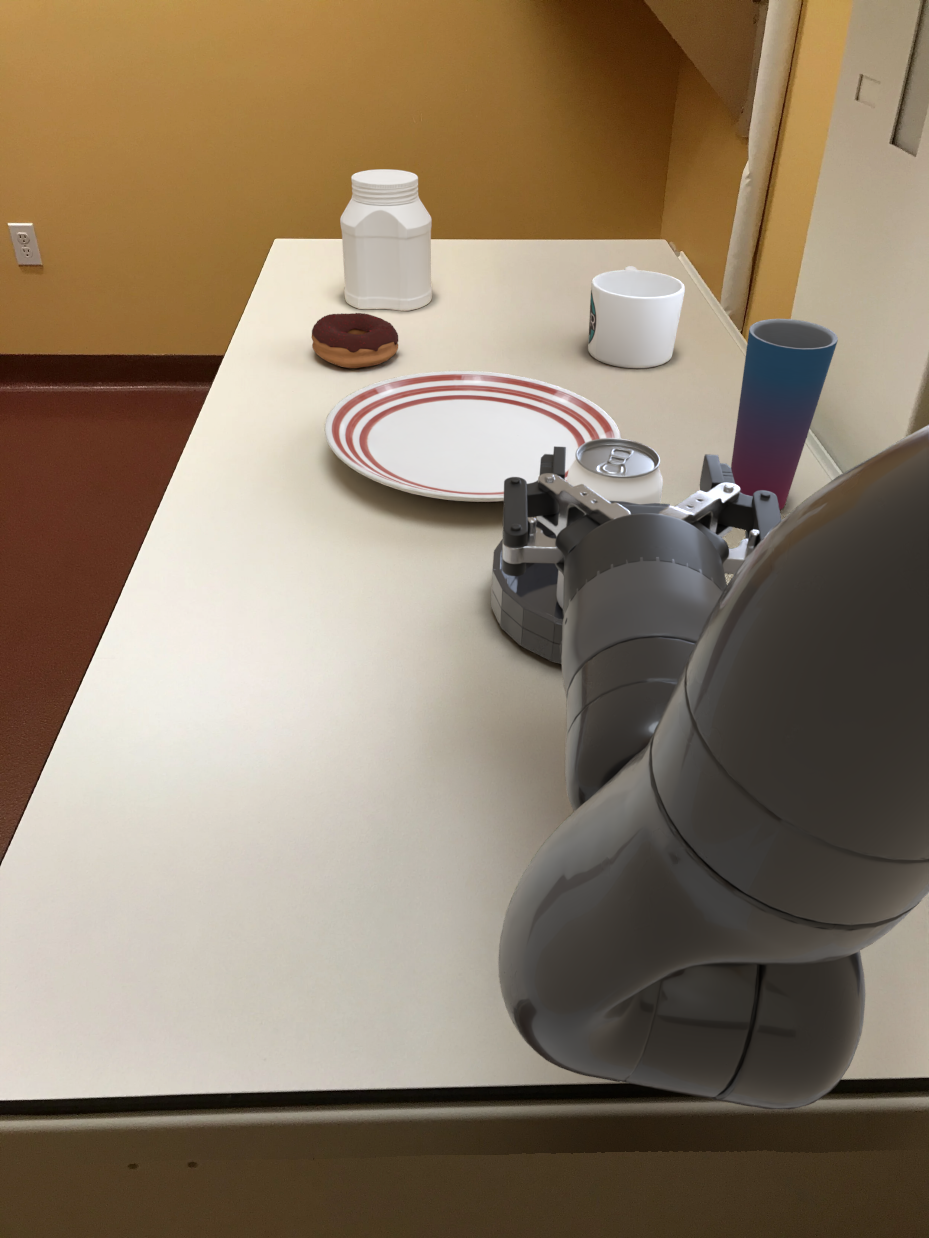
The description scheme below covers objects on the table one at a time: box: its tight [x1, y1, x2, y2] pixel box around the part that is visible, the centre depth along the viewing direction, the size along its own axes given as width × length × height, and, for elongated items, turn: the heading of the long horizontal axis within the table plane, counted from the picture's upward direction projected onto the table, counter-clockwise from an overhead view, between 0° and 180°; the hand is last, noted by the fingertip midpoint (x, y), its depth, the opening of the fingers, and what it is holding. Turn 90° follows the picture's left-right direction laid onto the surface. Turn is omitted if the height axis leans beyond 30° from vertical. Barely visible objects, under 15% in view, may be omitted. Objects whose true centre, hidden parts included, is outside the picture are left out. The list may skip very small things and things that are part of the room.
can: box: [557, 438, 664, 609], centre depth 67 cm, size 6×6×12 cm
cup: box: [730, 318, 839, 511], centre depth 80 cm, size 7×7×15 cm
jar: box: [339, 168, 433, 312], centre depth 123 cm, size 12×10×15 cm
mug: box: [587, 265, 686, 369], centre depth 111 cm, size 13×10×8 cm
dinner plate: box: [324, 370, 622, 503], centre depth 90 cm, size 28×27×3 cm
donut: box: [311, 312, 399, 369], centre depth 109 cm, size 10×10×4 cm
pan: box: [490, 517, 563, 665], centre depth 70 cm, size 16×16×4 cm
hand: (632, 464), depth 55 cm, fingers open, 8 cm apart
